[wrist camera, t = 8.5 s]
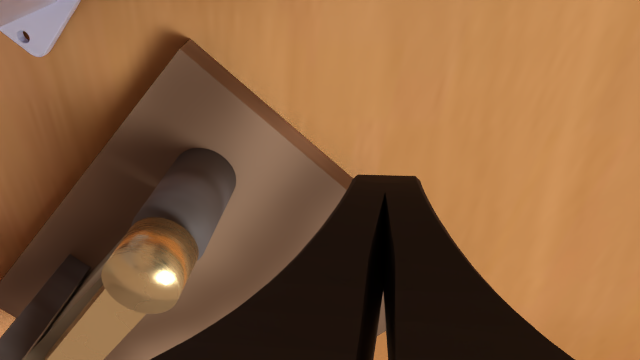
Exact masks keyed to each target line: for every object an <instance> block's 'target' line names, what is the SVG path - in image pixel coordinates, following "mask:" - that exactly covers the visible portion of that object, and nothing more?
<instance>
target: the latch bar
mask: <svg viewBox="0 0 640 360" xmlns="http://www.w3.org/2000/svg"><path fill="white" fill-rule="evenodd" d="M198 255H199V250H198V246H197V243H196V241H195V239H194V238H193V236H192V235H191V234H190V233H189V231H187V230H186V229H185V228H184V227H183V226H181V225H180V224H178V223H176V222H174V221H172V220H169V219H165V218H161V217H148V218H143V219H141V220H139V221H137V222H136V223H134V224H133V225H132V227H131V228H130V229H129V231H128V232H127V234H126V235H125V236H124V238H123V239H122V241H121V242H120V244H119V245H118V246H117V248H116V249H115V251H114V252H113V253H112V255H111V256H110V258H109V259H108V260H107V262H106V263H105V265H104V266H103V269H102V273H101V278H102V282H103V285H102V286H101V288H100V289H99V290H98V291H97V293H96V294H95V295H94V296H93V297H92V299H91V300H90V301H89V302H88V304H87V305H86V306H85V307H84V309H83V310H82V311H81V312H80V313H79V315H78V316H77V317H76V318H75V320H74V321H73V322H72V323H71V325H70V326H69V327H68V328H67V329H66V331H65V332H64V333H63V334H62V336H61V337H60V338H59V339H58V341H57V342H56V343H55V344H54V345H53V347H52V348H51V349H50V350H49V352H48V353H47V354H46V355H45V357H44V358H43V359H42V360H104V358H105V357H106V356H107V355H108V354H109V353H110V352H111V351H112V350H113V349H114V348H115V347H116V346H117V345H118V344H119V343H120V341H121V340H122V339H123V338H124V337H125V336H126V335H127V334H128V333H129V332H130V331H131V330H132V329H133V328H134V327H135V325H136V324H137V323H138V322H139V321H140V320H141V319H142V318H143V317H144V316H145V315H146V314H158V313H162V312H165V311H168V310H170V309H171V308H172V307H173V306H174V305H175V304H176V303H177V301H178V299H179V297H180V295H181V292H182V290H183V288H184V286H185V284H186V282H187V280H188V278H189V276H190V274H191V272H192V270H193V268H194V266H195V264H196V262H197V259H198Z"/></svg>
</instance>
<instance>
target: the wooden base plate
mask: <svg viewBox="0 0 640 360" xmlns="http://www.w3.org/2000/svg"><path fill="white" fill-rule="evenodd" d="M352 179H353V178H352V177H350V176H349V175H348V174H347V173H346V172H345V171H343V170H342V169H341V168H340V167H339V166H338V165H336V164H335V163H334V162H333V161H332V160H331V159H329V158H328V157H327V156H326V155H325V154H324V153H322V152H321V151H320V150H319V149H318V148H317V147H315V146H314V145H313V144H312V143H311V142H310V141H308V140H307V139H306V138H305V137H304V136H303V135H301V134H300V133H299V132H298V131H297V130H296V129H294V128H293V127H292V126H291V125H290V124H289V123H287V122H286V121H285V120H284V119H283V118H282V117H280V116H279V115H278V114H277V113H276V112H275V111H273V110H272V109H271V108H270V107H269V106H268V105H266V104H265V103H264V102H263V101H262V100H261V99H259V98H258V97H257V96H256V95H255V94H254V93H252V92H251V91H250V90H249V89H248V88H247V87H246V86H244V85H243V84H242V83H241V82H240V81H239V80H237V79H236V78H235V77H234V76H233V75H232V74H230V73H229V72H228V71H227V70H226V69H225V68H223V67H222V66H221V65H220V64H219V63H218V62H216V61H215V60H214V59H213V58H212V57H211V56H209V55H208V54H207V53H206V52H205V51H204V50H202V49H201V48H200V47H199V46H198V45H197V44H195V43H194V42H193V41H192V40H191V39H190V40H189V41H188V42H187V43H186V44H184V45H183V46H182V47H181V48H180V49H179V50H178V52H177V53H176V54H175V56H174V57H173V58H172V60H171V61H170V62H169V63H168V65H167V66H166V67H165V69H164V70H163V71H162V72H161V74H160V75H159V76H158V78H157V79H156V80H155V82H154V83H153V84H152V85H151V87H150V88H149V89H148V91H147V92H146V93H145V95H144V96H143V97H142V98H141V100H140V101H139V102H138V104H137V105H136V106H135V108H134V109H133V110H132V111H131V113H130V114H129V115H128V117H127V118H126V119H125V121H124V122H123V123H122V124H121V126H120V127H119V128H118V130H117V131H116V132H115V134H114V135H113V136H112V137H111V139H110V140H109V141H108V143H107V144H106V145H105V147H104V148H103V149H102V150H101V152H100V153H99V154H98V156H97V157H96V158H95V160H94V161H93V162H92V163H91V165H90V166H89V167H88V169H87V170H86V171H85V172H84V174H83V175H82V176H81V178H80V179H79V180H78V182H77V183H76V184H75V185H74V187H73V188H72V189H71V191H70V192H69V193H68V195H67V196H66V197H65V198H64V200H63V201H62V202H61V204H60V205H59V206H58V208H57V209H56V210H55V211H54V213H53V214H52V215H51V217H50V218H49V219H48V221H47V222H46V223H45V224H44V226H43V227H42V228H41V230H40V231H39V232H38V234H37V235H36V236H35V237H34V239H33V240H32V241H31V243H30V244H29V245H28V247H27V248H26V249H25V250H24V252H23V253H22V254H21V256H20V257H19V258H18V260H17V261H16V262H15V263H14V265H13V266H12V267H11V269H10V270H9V271H8V273H7V274H6V275H5V276H4V278H3V279H2V280H1V282H0V308H1V309H2V310H4V311H5V312H7V313H9V314H10V315H12V316H14V317H15V318H16V319H15V321H14V322H13V323H12V324H11V326H10V327H9V328H8V329H7V330H6V332H5V333H4V334H3V335H2V337H1V338H0V360H42V359H43V358H44V357H45V355H46V354H47V353H48V352H49V350H50V349H51V348H52V347H53V345H54V344H55V343H56V342H57V341H58V339H59V338H60V337H61V336H62V334H63V333H64V332H65V331H66V329H67V328H68V327H69V326H70V325H71V323H72V322H73V321H74V320H75V318H76V317H77V316H78V315H79V313H80V312H81V311H82V310H83V309H84V307H85V306H86V305H87V304H88V302H89V301H90V300H91V299H92V297H93V296H94V295H95V294H96V293H97V291H98V290H99V289H100V288H101V286H102V285H103V282H102V278H101V273H102V269H103V266H104V265H105V263H106V262H107V260H108V259H109V258H110V256H111V255H112V253H113V252H114V251H115V249H116V248H117V246H118V245H119V244H120V242H121V241H122V239H123V238H124V236H125V235H126V234H127V232H128V231H129V229H130V228H131V227H132V225H133V224H134V223H136V222H137V221H139V220H141V219H143V218H148V217H161V218H165V219H169V220H172V221H174V222H176V223H178V224H180V225H181V226H183V227H184V228H185V229H186V230H187V231H189V233H190V234H191V235H192V236H193V238H194V239H195V241H196V243H197V246H198V250H199V255H198V259H197V262H196V264H195V266H194V268H193V270H192V272H191V274H190V276H189V278H188V280H187V282H186V284H185V286H184V288H183V290H182V292H181V295H180V297H179V299H178V301H177V303H176V304H175V305H174V306H173V307H172V308H171V309H170V310H168V311H165V312H162V313H158V314H146V315H145V316H144V317H143V318H142V319H141V320H140V321H139V322H138V323H137V324H136V325H135V327H134V328H133V329H132V330H131V331H130V332H129V333H128V334H127V335H126V336H125V337H124V338H123V339H122V340H121V341H120V343H119V344H118V345H117V346H116V347H115V348H114V349H113V350H112V351H111V352H110V353H109V354H108V355H107V356H106V357H105V358H104V360H150V359H152V358H154V357H156V356H158V355H159V354H161V353H163V352H165V351H167V350H169V349H171V348H173V347H175V346H176V345H178V344H180V343H182V342H184V341H186V340H188V339H189V338H191V337H193V336H194V335H196V334H198V333H199V332H201V331H203V330H204V329H206V328H207V327H209V326H211V325H212V324H214V323H215V322H217V321H218V320H220V319H221V318H223V317H224V316H226V315H227V314H229V313H230V312H232V311H233V310H235V309H236V308H237V307H239V306H240V305H241V304H243V303H244V302H245V301H247V300H248V299H249V298H250V297H252V296H253V295H254V294H255V293H257V292H258V291H259V290H260V289H261V288H263V287H264V286H265V285H266V284H267V283H269V282H270V281H271V280H272V279H273V278H274V277H275V276H276V275H277V274H278V273H280V272H281V271H282V270H283V269H284V268H285V267H286V266H287V265H288V264H289V263H290V262H291V261H292V260H293V259H294V258H295V257H296V256H297V255H298V254H299V253H300V252H301V250H302V249H303V248H304V247H305V246H306V245H307V243H308V242H309V241H310V240H311V239H312V238H313V236H314V235H315V234H316V233H317V232H318V231H319V229H320V228H321V227H322V226H323V224H324V223H325V222H326V220H327V219H328V217H329V216H330V215H331V213H332V212H333V211H334V209H335V208H336V206H337V205H338V203H339V202H340V200H341V199H342V197H343V196H344V194H345V192H346V191H347V189H348V187H349V185H350V184H351V181H352ZM385 331H386V321H385V307H384V293H383V296H382V303H381V310H380V317H379V324H378V331H377V336H378V335H380V334H381V333H383V332H385Z"/></svg>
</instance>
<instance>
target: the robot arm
mask: <svg viewBox="0 0 640 360" xmlns="http://www.w3.org/2000/svg"><path fill="white" fill-rule="evenodd" d="M80 1H81V0H0V31H1V32H2V33H4V34H5V35H6V36H8V37H9V38H10V39H12V40H13V41H14V42H15V43H17V44H18V45H19V46H21V47H22V48H23V49H25V50H26V51H27V52H28V53H30V54H31V55H33V56H36V57H42V56H45V55H46V54H48V53H49V52H50V51H51V49H52V47H53V46H54V44H55V43H56V41H57V39H58V38H59V36H60V34H61V33H62V31H63V29H64V28H65V26H66V24H67V23H68V21H69V19H70V18H71V16H72V14H73V13H74V11H75V10H76V8H77V6H78V5H79V3H80ZM23 31H25V32H26V33H27V34H28V35H29V37H30V40H28V39H26V38H25V36H24V34H23ZM383 293H384V307H385V321H386V335H387V348H388V360H575V359H573V358H572V357H571V356H569V355H568V354H567V353H565V352H564V351H563V350H561V349H560V348H558V347H557V346H556V345H554V344H553V343H552V342H551V341H549V340H548V339H547V338H546V337H544V336H543V335H542V334H541V333H540V332H539V331H537V330H536V329H535V328H534V327H533V326H532V325H530V324H529V323H528V322H527V321H526V320H525V319H524V318H522V317H521V316H520V315H519V314H518V313H517V312H516V311H514V310H513V309H512V308H511V307H510V306H509V305H508V304H507V303H506V302H505V301H504V300H503V299H502V298H501V297H500V296H499V295H498V294H497V293H496V292H495V291H494V290H493V289H492V287H491V286H490V285H489V284H488V283H487V282H486V281H485V280H484V279H483V278H482V277H481V275H480V274H479V273H478V272H477V271H476V270H475V268H474V267H473V266H472V265H471V263H470V262H469V261H468V260H467V258H466V257H465V256H464V254H463V253H462V252H461V251H460V249H459V248H458V247H457V245H456V244H455V242H454V241H453V239H452V238H451V237H450V235H449V234H448V232H447V230H446V229H445V227H444V226H443V224H442V223H441V221H440V220H439V218H438V216H437V215H436V213H435V211H434V210H433V208H432V206H431V204H430V202H429V200H428V198H427V196H426V194H425V192H424V190H423V188H422V185H421V182H420V180H419V179H418V178H417V177H416V176H387V175H357V176H356V177H355V178H353V179H352V181H351V184H350V185H349V187H348V189H347V191H346V192H345V194H344V196H343V197H342V199H341V200H340V202H339V203H338V205H337V206H336V208H335V209H334V211H333V212H332V213H331V215H330V216H329V217H328V219H327V220H326V222H325V223H324V224H323V226H322V227H321V228H320V229H319V231H318V232H317V233H316V234H315V235H314V236H313V238H312V239H311V240H310V241H309V242H308V243H307V245H306V246H305V247H304V248H303V249H302V250H301V252H300V253H299V254H298V255H297V256H296V257H295V258H294V259H293V260H292V261H291V262H290V263H289V264H288V265H287V266H286V267H285V268H284V269H283V270H282V271H281V272H280V273H278V274H277V275H276V276H275V277H274V278H273V279H272V280H271V281H270V282H269V283H267V284H266V285H265V286H264V287H263V288H261V289H260V290H259V291H258V292H257V293H255V294H254V295H253V296H252V297H250V298H249V299H248V300H247V301H245V302H244V303H243V304H241V305H240V306H239V307H237V308H236V309H235V310H233V311H232V312H230V313H229V314H227V315H226V316H224V317H223V318H221V319H220V320H218V321H217V322H215V323H214V324H212V325H211V326H209V327H207V328H206V329H204V330H203V331H201V332H199V333H198V334H196V335H194V336H193V337H191V338H189V339H188V340H186V341H184V342H182V343H180V344H178V345H176V346H175V347H173V348H171V349H169V350H167V351H165V352H163V353H161V354H159V355H158V356H156V357H154V358H152V359H150V360H373V358H374V351H375V344H376V338H377V331H378V324H379V317H380V310H381V303H382V296H383Z"/></svg>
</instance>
